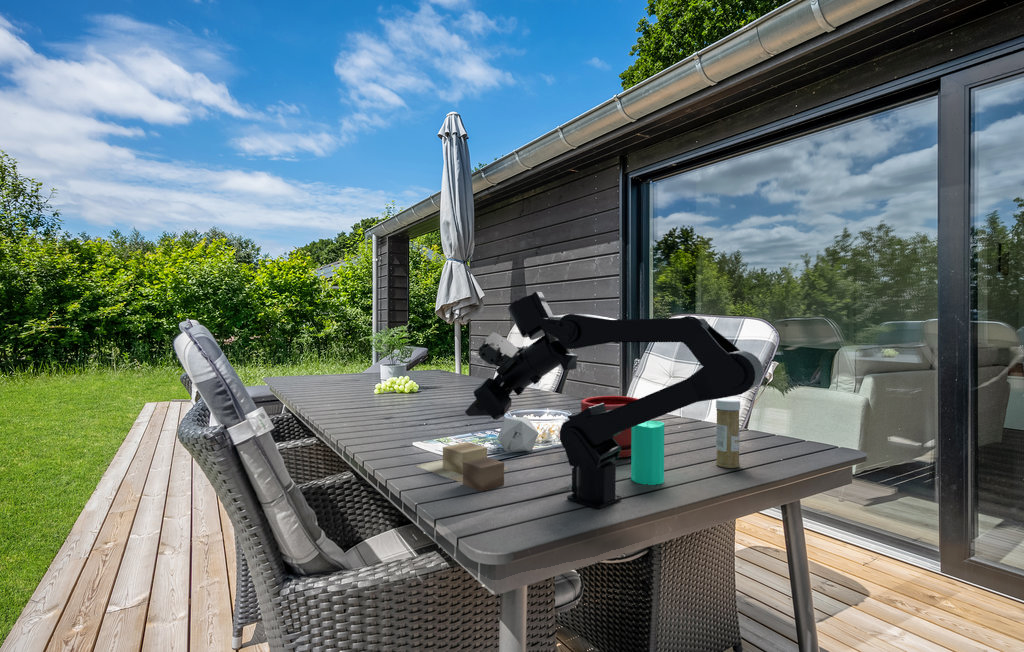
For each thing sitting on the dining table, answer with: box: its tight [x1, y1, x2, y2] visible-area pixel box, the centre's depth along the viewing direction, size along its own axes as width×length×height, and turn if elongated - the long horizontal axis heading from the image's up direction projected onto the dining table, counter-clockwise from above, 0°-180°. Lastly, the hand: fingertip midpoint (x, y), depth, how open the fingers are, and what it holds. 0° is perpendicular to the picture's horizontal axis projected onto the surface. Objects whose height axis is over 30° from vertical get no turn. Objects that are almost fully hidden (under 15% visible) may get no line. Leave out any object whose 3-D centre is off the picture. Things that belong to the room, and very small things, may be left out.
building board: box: [415, 458, 510, 483], centre depth 102 cm, size 14×12×1 cm
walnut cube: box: [462, 456, 505, 492], centre depth 91 cm, size 5×5×5 cm
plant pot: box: [580, 395, 638, 459], centre depth 117 cm, size 13×13×12 cm
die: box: [497, 416, 540, 453], centre depth 116 cm, size 8×9×10 cm
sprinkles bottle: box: [715, 397, 741, 469], centre depth 107 cm, size 5×5×13 cm
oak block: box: [442, 441, 488, 475], centre depth 101 cm, size 6×6×4 cm
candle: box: [630, 420, 665, 486], centre depth 98 cm, size 6×6×12 cm
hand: (477, 401), depth 100 cm, fingers open, 9 cm apart
